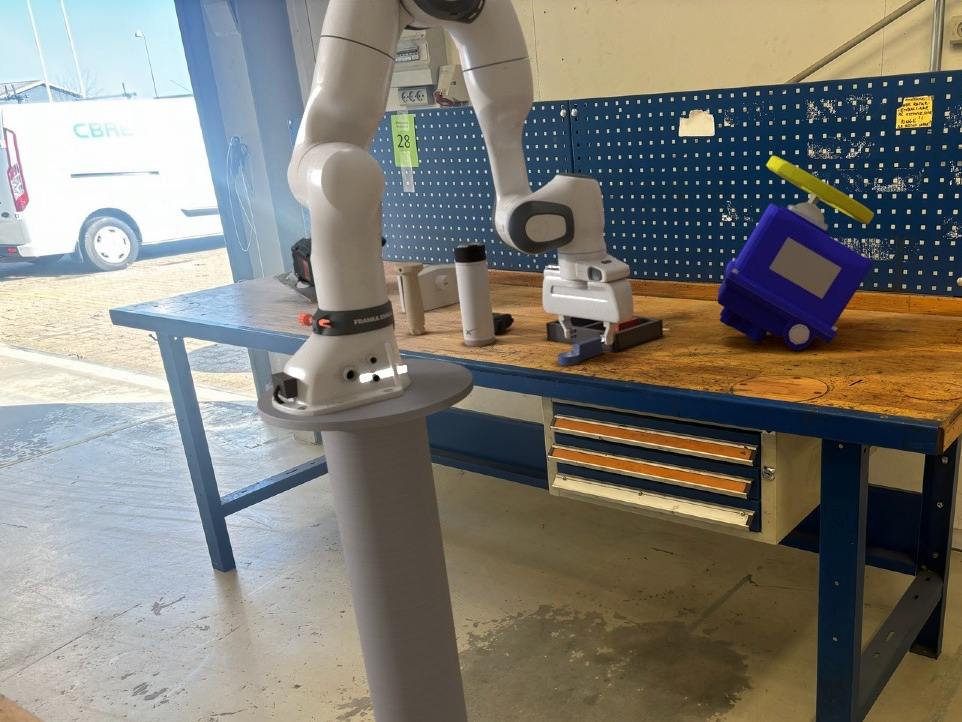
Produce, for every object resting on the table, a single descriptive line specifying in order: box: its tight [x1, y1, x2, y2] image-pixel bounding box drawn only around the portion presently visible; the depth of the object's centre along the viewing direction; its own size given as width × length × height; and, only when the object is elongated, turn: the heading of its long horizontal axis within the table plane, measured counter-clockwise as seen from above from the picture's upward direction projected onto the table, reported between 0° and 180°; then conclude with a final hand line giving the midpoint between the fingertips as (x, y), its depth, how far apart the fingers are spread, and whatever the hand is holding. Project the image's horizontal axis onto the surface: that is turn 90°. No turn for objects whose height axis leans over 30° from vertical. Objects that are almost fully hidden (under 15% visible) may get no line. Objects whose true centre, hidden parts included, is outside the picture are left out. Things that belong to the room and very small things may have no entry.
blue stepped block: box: [557, 337, 603, 367], centre depth 157 cm, size 10×4×3 cm, turn 137°
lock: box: [396, 263, 460, 314], centre depth 211 cm, size 19×9×10 cm, turn 143°
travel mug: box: [453, 244, 496, 347], centre depth 171 cm, size 6×7×20 cm
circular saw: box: [272, 232, 387, 303], centre depth 233 cm, size 21×36×25 cm
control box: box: [717, 155, 875, 351], centre depth 162 cm, size 26×27×30 cm
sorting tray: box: [545, 314, 664, 353], centre depth 171 cm, size 14×19×4 cm
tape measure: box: [492, 312, 515, 334], centre depth 182 cm, size 7×7×4 cm
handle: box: [393, 261, 426, 336], centre depth 183 cm, size 5×6×15 cm
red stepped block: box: [614, 317, 639, 333], centre depth 168 cm, size 10×4×3 cm, turn 136°
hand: (588, 341), depth 159 cm, fingers open, 8 cm apart
